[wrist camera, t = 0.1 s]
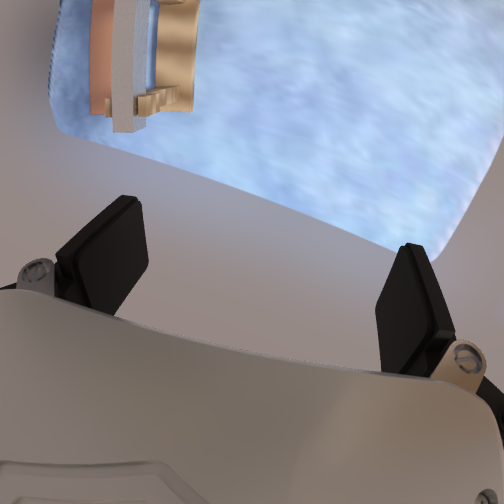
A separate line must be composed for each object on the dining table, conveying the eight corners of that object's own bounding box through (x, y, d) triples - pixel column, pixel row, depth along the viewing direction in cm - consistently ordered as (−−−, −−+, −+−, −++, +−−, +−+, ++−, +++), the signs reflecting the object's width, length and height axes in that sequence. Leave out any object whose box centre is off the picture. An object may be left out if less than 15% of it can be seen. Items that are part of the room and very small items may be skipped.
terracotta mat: (95, -3, 33) (93, -3, 32) (143, -15, 31) (141, -15, 31) (92, 114, 46) (91, 114, 45) (137, 112, 45) (136, 113, 44)
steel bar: (133, -34, 21) (119, -38, 19) (154, -38, 21) (142, -44, 19) (126, 126, 34) (113, 132, 32) (146, 126, 34) (133, 132, 31)
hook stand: (165, -16, 31) (111, -34, 20) (201, -20, 31) (156, -45, 19) (158, 109, 44) (105, 131, 32) (192, 110, 43) (146, 131, 32)
